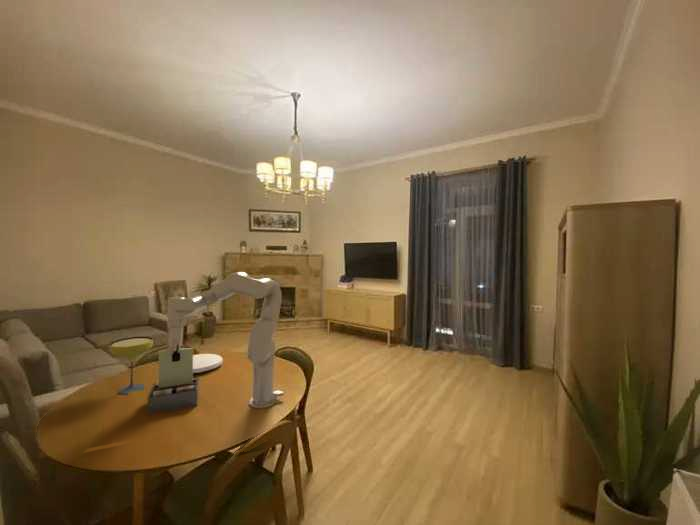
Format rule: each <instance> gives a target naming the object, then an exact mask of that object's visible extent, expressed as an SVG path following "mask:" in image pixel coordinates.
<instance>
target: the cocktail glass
mask: <svg viewBox="0 0 700 525" xmlns="http://www.w3.org/2000/svg"><path fill="white" fill-rule="evenodd" d="M153 340H154V339H153V338H152V337H151V336H133V337H125V338H121V339H117V340H115V341H112V342H110V343H109V346H108V351H109V353H110V354H111V355H113V356H115V357H119V358H123V359H124V358H125V359H126V360H128V361H129V362H130V384H129V385H126V386H124V387H121V388H120V389H119V390H118V391H117V392H118V394H119V395H128V394H129V393H130V392H137V391H143V390H144V389H145V385H144V384H142V383H135V384H134V380H133V378H134V376H133V369H134V368H133V363H134V361H135V360H136V359H137V358H138V357H139V356H140V355H143V354H144V353H146V352H148V351H149V350H151V349H152V348H153V345H154V341H153Z"/></svg>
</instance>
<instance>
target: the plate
mask: <svg viewBox="0 0 700 525" xmlns="http://www.w3.org/2000/svg"><path fill="white" fill-rule="evenodd" d="M223 362H224V359H223V357H222V356H220V355H218V354H214V353H202V354H201V353H198V354H193V374H197V373H198V374H199V373H202V372H207V371H210V370H213V369H216V368H218V367H220V366H221V365H222V364H223Z"/></svg>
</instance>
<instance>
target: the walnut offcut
mask: <svg viewBox="0 0 700 525" xmlns="http://www.w3.org/2000/svg"><path fill="white" fill-rule="evenodd" d="M193 390H194V385H190V386H183V387H177V390H176V393H181V392H187V391H193Z"/></svg>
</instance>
